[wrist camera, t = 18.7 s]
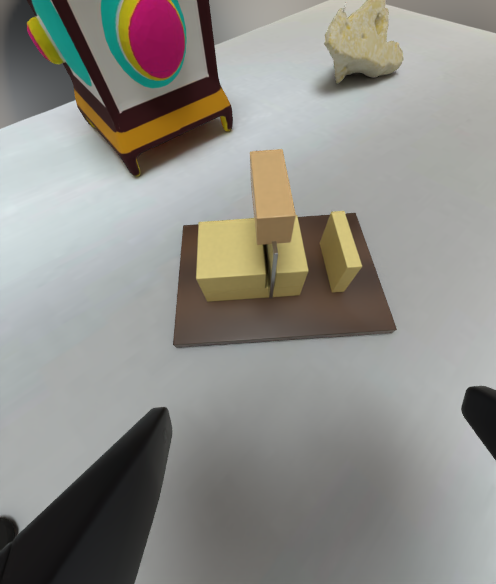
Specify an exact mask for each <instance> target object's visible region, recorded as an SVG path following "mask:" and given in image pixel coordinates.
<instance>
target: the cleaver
mask: <svg viewBox="0 0 496 584" xmlns="http://www.w3.org/2000/svg"><path fill="white" fill-rule="evenodd" d="M14 537H15V535H14V527H13V523H12V522H10V521H9V520H7V519H4V518H0V551H1V550H2V549H3V548H4V547H5V546H6V545H7V544H8V543H10V542H13V540H14Z"/></svg>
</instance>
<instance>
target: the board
mask: <svg viewBox="0 0 496 584" xmlns="http://www.w3.org/2000/svg"><path fill="white" fill-rule="evenodd" d="M345 215H346V218H347V221H348V224H349V227H350V230H351V233H352V237H353V240H354V243H355V246H356V249H357V252H358V255H359V258H360V261H361V264H362V268H361V269H360V270H359V272H358V273H357V274H356V276H355V277H354V279H353V280H352V281H351V283H350V284H349V285H348V287H347V288H346V290H345V291H344V292H332V291H331V287H330V283H329V279H328V275H327V271H326V267H325V263H324V258H323V254H322V250H321V246H320V241H321V238H322V236H323V233H324V230H325V228H326V225H327V222H328V219H329V217H330V215H320V216H306V217H298V222H299V227H300V231H301V236H302V241H303V246H304V251H305V256H306V261H307V266H308V274H307V276H306V279H305V282H304V285H303V287H302V290H301V293H300V295H295V296H281V297H273V298H272V299H269V297H267V298H253V299H238V300H224V301H210V302H207V300H206V298H205V296H204V294H203V292H202V290H201V288H200V286H199V284H198V282H197V280H196V271H197V250H198V229H199V224H197V225H184V226H183V235H182V246H181V258H180V270H179V282H178V294H177V305H176V317H175V329H174V341H173V345H174V346H175V347H191V346H206V345H221V344H235V343H250V342H265V341H279V340H294V339H309V338H323V337H338V336H353V335H367V334H382V333H392V332H394V331H395V330H397V329H396V326H395V323H394V320H393V317H392V314H391V312H390V309H389V306H388V303H387V300H386V298H385V295H384V292H383V289H382V286H381V283H380V281H379V278H378V275H377V272H376V269H375V267H374V264H373V261H372V258H371V255H370V252H369V250H368V247H367V244H366V241H365V238H364V235H363V233H362V230H361V227H360V224H359V221H358V219H357V216H356V213H347V214H345Z"/></svg>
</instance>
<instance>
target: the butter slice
mask: <svg viewBox="0 0 496 584" xmlns="http://www.w3.org/2000/svg"><path fill="white" fill-rule="evenodd" d="M320 246H321V250H322V254H323V258H324V263H325V267H326V271H327V275H328V279H329V283H330V287H331V291H332V292H344V291H345V290H346V288H347V287H348V285H349V284H350V283H351V281H352V280H353V279H354V277H355V276H356V274H357V273H358V272H359V270H360V269H361V268H362V264H361V261H360V258H359V255H358V252H357V249H356V246H355V243H354V240H353V237H352V233H351V230H350V227H349V224H348V221H347V218H346V215H345V212H344V211H337V212H331V214H330V217H329V219H328V222H327V225H326V228H325V230H324V233H323V236H322V238H321V241H320Z"/></svg>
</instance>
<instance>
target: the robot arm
mask: <svg viewBox="0 0 496 584" xmlns="http://www.w3.org/2000/svg"><path fill="white" fill-rule="evenodd" d="M461 410H462V414H463V416H464V418H465V419H466V420H467V422H468V423H469V425H470V426H471V427H472V429H473V430H474V431H475V433H476V434H477V436H478V437H479V438H480V440H481V441H482V442H483V444H484V445H485V446H486V448H487V449H488V451H489V452H490V453H491V455H492V456H493V457H494V459H495V460H496V390H494V389H491V388H489V387H486V386H473V387H469V388H468V389H467V390H466V393H465V396H464V400H463V404H462V408H461ZM171 438H172V425H171V420H170V416H169V411H168V409H167V408H166V407H159V408H153V409H151V410H150V411H149V412H148V413H147V414H146V415H145V416H144V417H143V418H142V419H141V420H139V421H138V422H137V423H136V424H135V425H134V426H133V427H132V428H131V429H130V430H129V431H128V432H127V433H126V434H125V435H124V436H122V437H121V438H120V439H119V440H118V441H117V442H116V443H115V444H114V445H113V446H112V447H111V448H110V449H109V450H108V451H106V452H105V453H104V454H103V455H102V456H101V457H100V458H99V459H98V460H97V461H96V462H95V463H94V464H93V465H92V466H91V467H89V468H88V469H87V470H86V471H85V472H84V473H83V474H82V475H81V476H80V477H79V478H78V479H77V480H76V481H75V482H74V483H72V484H71V485H70V486H69V487H68V488H67V489H66V490H65V491H64V492H63V493H62V494H61V495H60V496H59V497H58V498H56V499H55V500H54V501H53V502H52V503H51V504H50V505H49V506H48V507H47V508H46V509H45V510H44V511H43V512H42V513H41V514H39V515H38V516H37V517H36V518H35V519H34V520H33V521H32V522H31V523H30V524H29V525H28V526H27V527H26V528H25V529H24V530H22V531H21V532H20V533H19V534H18V535H17V536H16V537H15V538H14V541H13V542H10V543H8V544H7V545H6V546H5V547H4V548H3V549H2V550H1V551H0V584H134V583H135V580H136V576H137V573H138V569H139V566H140V563H141V559H142V556H143V552H144V549H145V546H146V542H147V539H148V535H149V532H150V529H151V525H152V522H153V518H154V515H155V512H156V508H157V505H158V501H159V497H160V493H161V488H162V484H163V479H164V474H165V469H166V464H167V458H168V453H169V448H170V443H171Z"/></svg>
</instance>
